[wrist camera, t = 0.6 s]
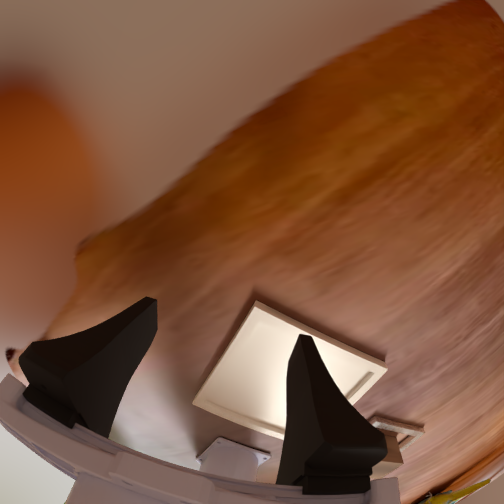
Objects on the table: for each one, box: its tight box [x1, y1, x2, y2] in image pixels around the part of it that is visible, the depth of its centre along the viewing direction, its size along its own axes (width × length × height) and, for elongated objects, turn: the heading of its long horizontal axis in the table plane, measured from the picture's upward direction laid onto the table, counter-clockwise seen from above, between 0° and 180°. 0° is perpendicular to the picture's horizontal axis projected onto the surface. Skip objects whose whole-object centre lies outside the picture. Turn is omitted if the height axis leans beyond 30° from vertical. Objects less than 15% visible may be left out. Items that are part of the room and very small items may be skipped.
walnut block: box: [370, 435, 404, 479], centre depth 27 cm, size 4×4×5 cm
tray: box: [192, 300, 388, 440], centre depth 26 cm, size 15×15×1 cm
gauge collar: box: [368, 416, 425, 452], centre depth 28 cm, size 10×10×1 cm
